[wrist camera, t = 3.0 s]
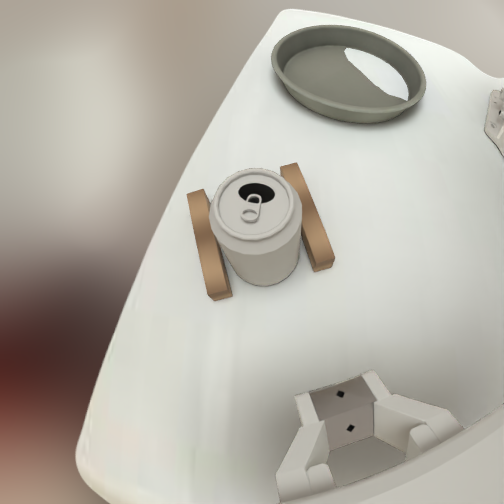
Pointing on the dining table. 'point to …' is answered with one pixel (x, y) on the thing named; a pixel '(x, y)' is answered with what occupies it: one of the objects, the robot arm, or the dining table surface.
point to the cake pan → (343, 73)
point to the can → (258, 225)
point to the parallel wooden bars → (210, 246)
